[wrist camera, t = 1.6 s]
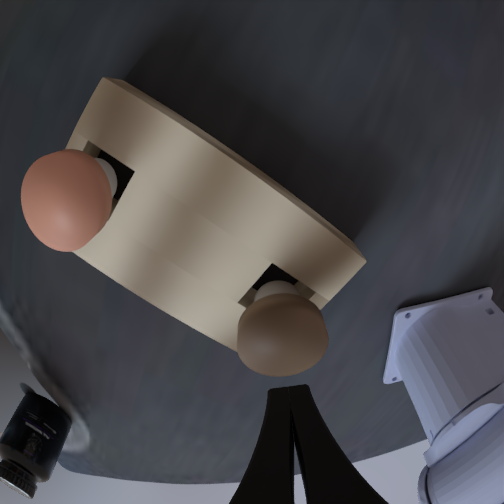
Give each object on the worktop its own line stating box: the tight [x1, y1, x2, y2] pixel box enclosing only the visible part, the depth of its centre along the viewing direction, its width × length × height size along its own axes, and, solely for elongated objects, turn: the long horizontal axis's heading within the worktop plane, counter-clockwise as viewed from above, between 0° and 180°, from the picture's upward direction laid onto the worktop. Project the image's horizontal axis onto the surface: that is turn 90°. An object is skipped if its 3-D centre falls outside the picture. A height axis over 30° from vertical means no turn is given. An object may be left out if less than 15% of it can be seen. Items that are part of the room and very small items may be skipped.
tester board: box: [66, 77, 367, 352], centre depth 16 cm, size 16×9×2 cm, turn 54°
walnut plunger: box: [237, 281, 329, 376], centre depth 15 cm, size 4×4×4 cm
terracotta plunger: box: [21, 149, 117, 252], centre depth 12 cm, size 4×4×4 cm
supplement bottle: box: [0, 393, 71, 499], centre depth 21 cm, size 7×7×12 cm
